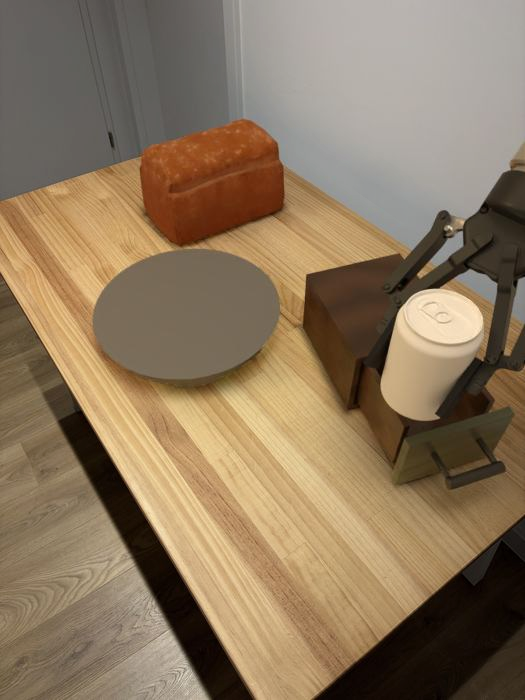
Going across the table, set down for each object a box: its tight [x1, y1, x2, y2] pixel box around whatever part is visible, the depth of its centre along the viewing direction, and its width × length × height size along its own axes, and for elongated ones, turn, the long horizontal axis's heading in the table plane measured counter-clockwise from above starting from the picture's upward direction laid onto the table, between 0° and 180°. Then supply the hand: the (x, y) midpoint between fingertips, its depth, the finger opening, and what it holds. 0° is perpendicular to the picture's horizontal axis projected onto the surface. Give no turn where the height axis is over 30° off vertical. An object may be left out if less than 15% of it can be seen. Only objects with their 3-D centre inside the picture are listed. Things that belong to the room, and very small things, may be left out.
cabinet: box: [302, 252, 421, 411], centre depth 78 cm, size 17×15×11 cm
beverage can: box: [381, 288, 485, 421], centre depth 55 cm, size 8×8×12 cm
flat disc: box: [92, 248, 281, 389], centre depth 85 cm, size 28×28×4 cm
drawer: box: [355, 355, 516, 491], centre depth 69 cm, size 20×14×9 cm
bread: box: [138, 118, 286, 245], centre depth 102 cm, size 17×24×15 cm
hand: (404, 390), depth 56 cm, fingers closed on beverage can, 8 cm apart
